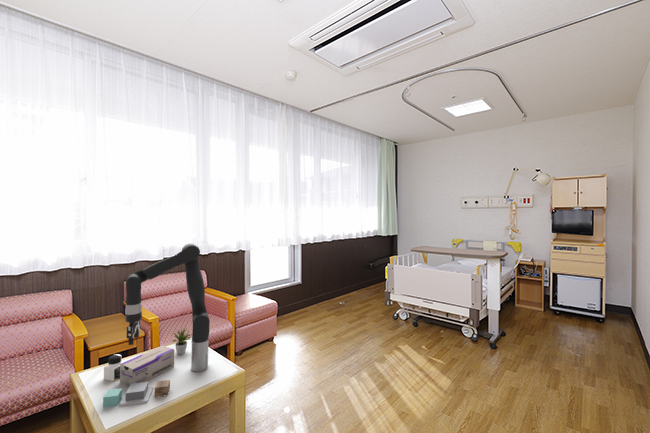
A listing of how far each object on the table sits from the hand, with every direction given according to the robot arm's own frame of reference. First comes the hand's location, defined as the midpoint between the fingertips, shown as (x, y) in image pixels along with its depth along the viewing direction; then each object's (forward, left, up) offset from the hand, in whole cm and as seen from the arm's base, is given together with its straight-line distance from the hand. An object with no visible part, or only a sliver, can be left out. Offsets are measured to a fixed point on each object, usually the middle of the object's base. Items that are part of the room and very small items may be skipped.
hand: (133, 341), depth 162 cm
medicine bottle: (+11, -8, -23) cm, 27 cm away
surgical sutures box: (-6, -7, -24) cm, 25 cm away
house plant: (-19, -29, -23) cm, 42 cm away
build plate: (-6, +14, -23) cm, 27 cm away
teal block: (+4, +16, -23) cm, 28 cm away
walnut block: (-17, +13, -23) cm, 32 cm away
